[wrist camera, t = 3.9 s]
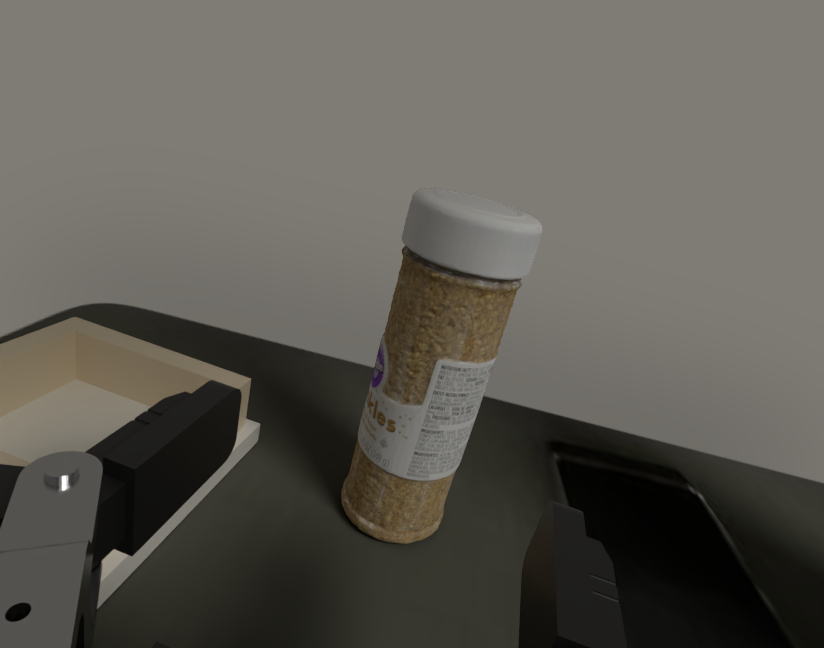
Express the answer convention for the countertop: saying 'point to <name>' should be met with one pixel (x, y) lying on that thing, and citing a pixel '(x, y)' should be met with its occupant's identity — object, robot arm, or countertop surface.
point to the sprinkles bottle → (435, 358)
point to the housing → (99, 405)
